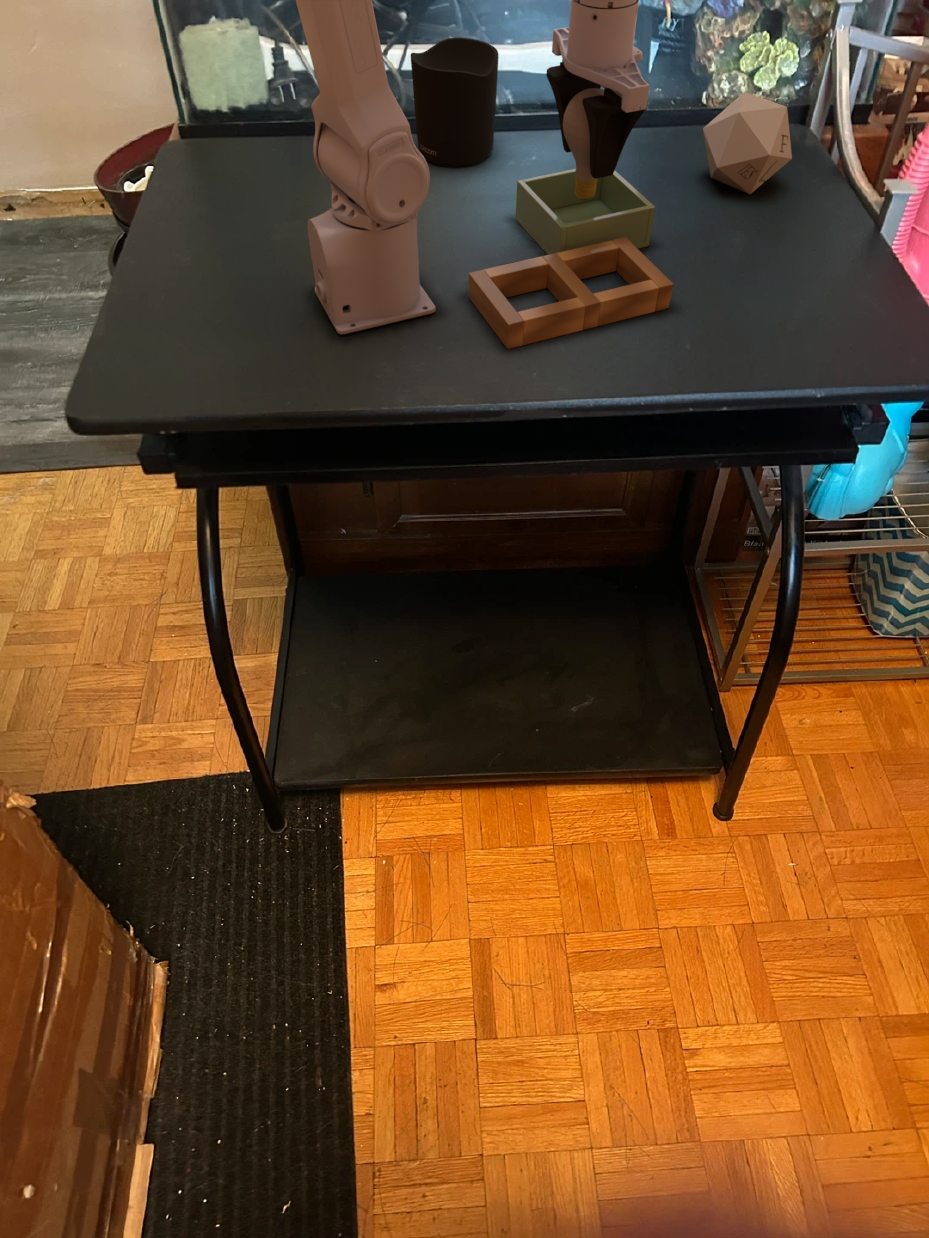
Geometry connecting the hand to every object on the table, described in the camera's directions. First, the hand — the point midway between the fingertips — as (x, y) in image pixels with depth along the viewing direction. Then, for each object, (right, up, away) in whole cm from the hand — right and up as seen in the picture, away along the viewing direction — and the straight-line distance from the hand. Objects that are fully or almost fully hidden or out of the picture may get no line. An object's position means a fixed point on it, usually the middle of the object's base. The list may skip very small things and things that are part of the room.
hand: (588, 162), depth 85 cm
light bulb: (0, -2, +3) cm, 4 cm away
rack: (-2, -14, -2) cm, 15 cm away
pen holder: (-13, +10, +17) cm, 24 cm away
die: (+18, +4, +12) cm, 22 cm away
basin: (0, -4, +6) cm, 7 cm away
